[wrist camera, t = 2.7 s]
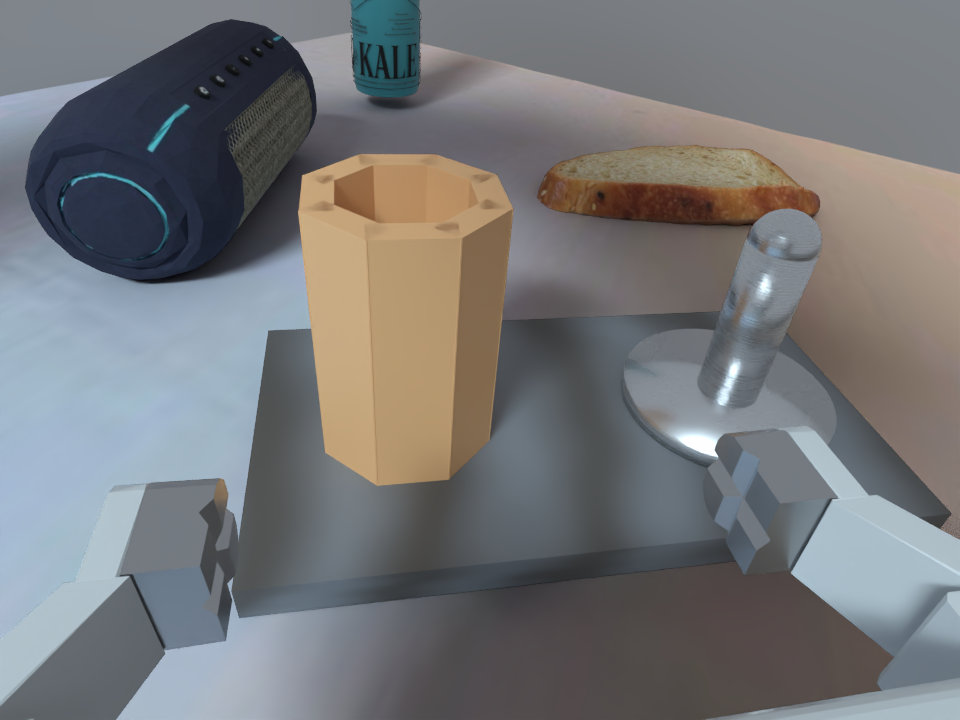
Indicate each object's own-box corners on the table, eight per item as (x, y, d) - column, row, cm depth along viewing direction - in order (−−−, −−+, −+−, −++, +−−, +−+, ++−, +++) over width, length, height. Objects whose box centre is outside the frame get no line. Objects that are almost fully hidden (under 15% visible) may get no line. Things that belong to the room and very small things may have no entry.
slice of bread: (515, 200, 49) (521, 151, 47) (633, 146, 61) (642, 104, 59) (742, 290, 41) (762, 236, 39) (830, 208, 52) (849, 162, 50)
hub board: (239, 618, 21) (164, 359, 15) (272, 355, 32) (237, 140, 26) (932, 538, 26) (1108, 313, 19) (755, 331, 36) (830, 143, 30)
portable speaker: (227, 313, 35) (188, 123, 29) (40, 298, 35) (-39, 104, 29) (332, 147, 55) (322, 14, 49) (213, 138, 55) (188, 3, 48)
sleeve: (324, 490, 24) (294, 241, 18) (326, 378, 29) (304, 153, 22) (498, 475, 25) (527, 237, 19) (471, 369, 30) (487, 154, 24)
